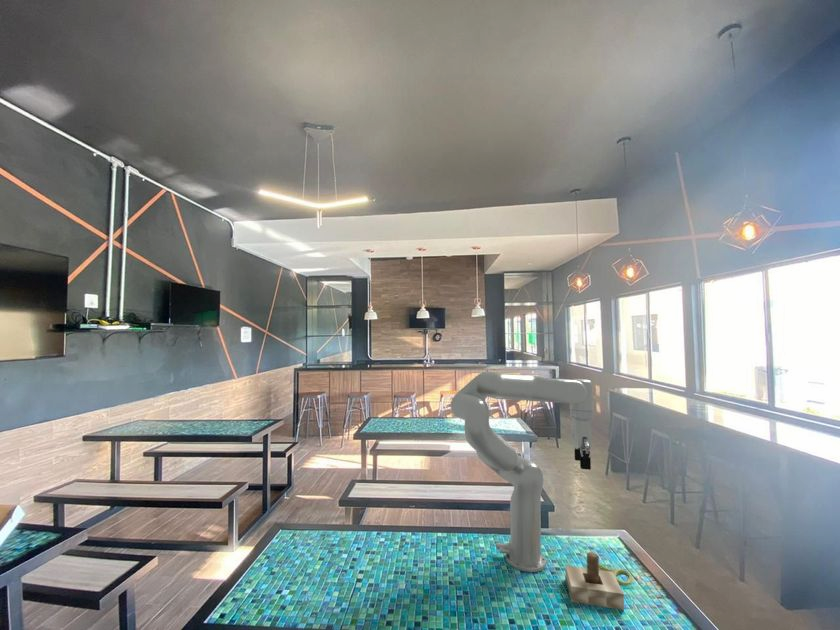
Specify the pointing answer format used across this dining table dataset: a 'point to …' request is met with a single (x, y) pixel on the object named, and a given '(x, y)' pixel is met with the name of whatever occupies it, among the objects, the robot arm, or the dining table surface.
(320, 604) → the dining table surface
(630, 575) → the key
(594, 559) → the walnut peg
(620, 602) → the maple hole block
